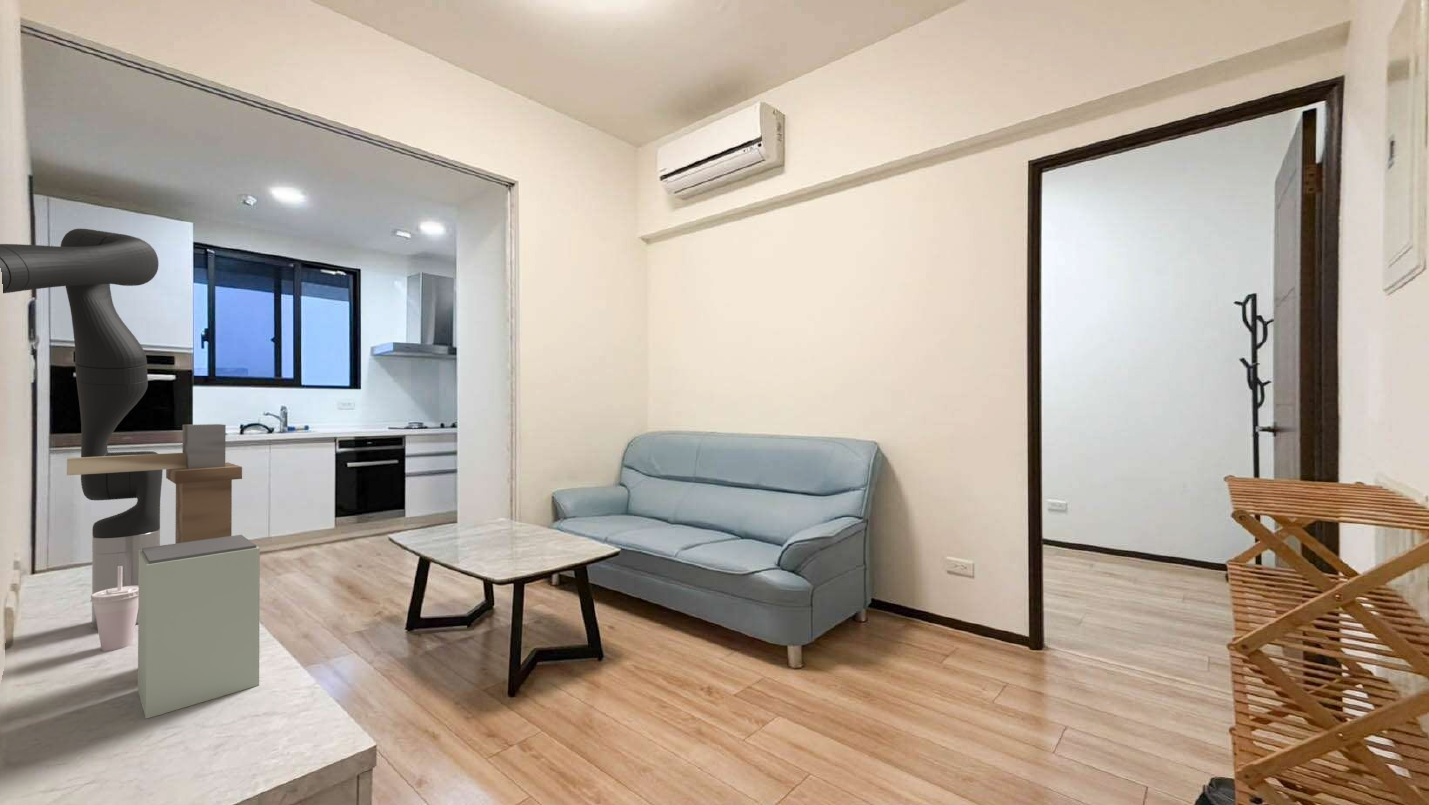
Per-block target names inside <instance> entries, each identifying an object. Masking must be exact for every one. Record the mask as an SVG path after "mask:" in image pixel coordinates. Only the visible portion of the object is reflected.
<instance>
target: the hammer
mask: <svg viewBox="0 0 1429 805" xmlns="http://www.w3.org/2000/svg"><path fill="white" fill-rule="evenodd" d="M226 426H227V425H226V424H223V423H222V424H221V423H220V424H219V423H214V424H213V423H210V424H209V423H208V424H205V423H204V424H182V452H169V453H167V452H166V453H158V454H145V455H123V456H101V457H81V456H80V457H67V458H66V476H76V475H79V476H81V475H82V474H98V473H115V472H131V471H147V470H166V469H180V468H187V469H197V468H213V467H225V463H226V440H227V439H226V430H227V429H226Z"/></svg>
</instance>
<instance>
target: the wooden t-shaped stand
mask: <svg viewBox="0 0 1429 805" xmlns="http://www.w3.org/2000/svg"><path fill="white" fill-rule="evenodd" d="M165 476H166V477H165V478H166V480H169V481H170V482H172V483H173V484H174V485H175V543H174V544H176V543H184V542H191V541H198V540H206V539H213V538H221V537H228V536H232V533H233V532H232V531H233V530H232V526H233V525H232V523H233V522H232V520H233V519H232V512H233V510H232V507H233V506H232V505H233V504H232V502H233V501H232V500H233V499H232V498H233V496H232V495H233V493H232V492H233V491H232V490H233V482H232V481H233V480H242V479H243V467H242V465H238V464H235V463H230V462H225V467H213V468H197V469H187V468H180V469H165Z"/></svg>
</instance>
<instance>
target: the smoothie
mask: <svg viewBox="0 0 1429 805" xmlns="http://www.w3.org/2000/svg"><path fill="white" fill-rule="evenodd" d="M138 589H139V586H124V587H122V566H119V567H118V587H117V588H112V589H107V590H103V591H99V592H96V593H94V594H92V593H91V595H90V603H92V602H93V603H94V610H95V615H96V621H97V627H98V629H97V631H98V637H99V643H100V648H101V651H105V652H108V651H115V650H119V649H123V648H127V647H129V646H132V644H133V640H134V634H135V629H136V625H137V624H136V619H137V613H138Z"/></svg>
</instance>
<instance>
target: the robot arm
mask: <svg viewBox="0 0 1429 805" xmlns="http://www.w3.org/2000/svg"><path fill="white" fill-rule="evenodd" d="M159 264H160V263H159V257H158V255H157V251H156V250H155V249H154V248H153V247H152V246H151V244H150V243H148V242H147V241H145V240H143V239H141V238H139V237H135V236H132V235H128V234H123V233H116V232H110V231H109V232H108V231H103V230H97V229H96V230H95V229H89V228H74V229H70V230H69V231H67V233H66V234H64V236H63V237H62V240H61V241H60V246H57V245H56V246H55V245H39V244H20V243H18V244H17V243H15V244H14V243H0V268H1V272H2V284H3V294H10V293H17V292H22V291H31V290H39V289H40V290H41V289H49V288H50V289H51V288H58V287H65V290H66V294H67V298H68V303H69V310H70V316H71V324H72V331H73V332H72V333H73V341H74V365H75V377H76V378H75V379H76V387H77V388H76V389H77V397H78V403H79V404H78V405H79V412H80V424H81V425H80V426H81V428H80V429H81V432H80V433H81V436H80V438H81V440H80V441H81V442H80V443H81V444H80V457H101V456H123V455H145V454H159V453H158V452H156V451H152V450H151V451H147V450H145V451H117V452H109V451H108V443H109V441H110V438H111V436H112V434H113V433H114V432H115V430H116V428H117V427H118V425H119V424H120V423H121V422H122V421H123V419H124V418H125V417H126V416H127V415H128V414H129V412H130V411H132V410H133V408H134V407H135V406H136V405H137V404H138V402H140V400H141V399H142V398H143V396H144V395H145V393H146V392H147V389H148V386H149V382H148V381H149V380H148V359H147V354H146V353H145V350H144V349H143V347H142V345H141V343H140V342H139V341H138V339H137V337H136V336H135V335H134V333H132V331H131V330H130V329H129V327H128V326H127V325H126V324H125V323H124V321H123V320H122V318H121V317H120V315H119V314H118V312H117V310H116V308H115V306H114V302H113V297H112V292H111V291H112V290H111V285H116V286H124V287H129V286H131V287H134V286H135V287H136V286H142V285H144V284H148V283H149V282H150V281H152V280H153V279H154V278H155V276H156V275H157V272H158V270H159ZM163 470H164V469H163ZM163 470H147V471H131V472H115V473H98V474H82V475H80V484H81V485H80V486H81V490H82V493H83V495H84V497H85V498H86V499H87V500H90V501H111V500H112V501H113V500H114V501H115V500H127V499H136V501H137V502H136V503H135V505H133V506H132V507H130V508H129V509H127V510H125V511H122V512H119V513H117V514H113V515H111V516H108V517H107V516H106V517H104V518H102V519H99V520H97V521H96V522H94V523H93V525H92V540H91V541H92V544H91V545H92V547H91V548H92V553H91V554H92V559H91V560H92V564H91V566H92V567H91V568H92V570H91V571H92V574H91V578H92V580H91V595H92V594H94V593H96V592H99V591H103V590H107V589H112V588H117V587H118V567H119V566H122V587H124V586H139V551H140V550H142V548H147V547H154V546H161V493H162V485H163V484H162V483H163ZM135 625H138V613H137V619H136V624H135ZM91 628H92V629H96V630H98V627H97V621H96V615H95V610H94V603H93V602H91Z"/></svg>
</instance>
